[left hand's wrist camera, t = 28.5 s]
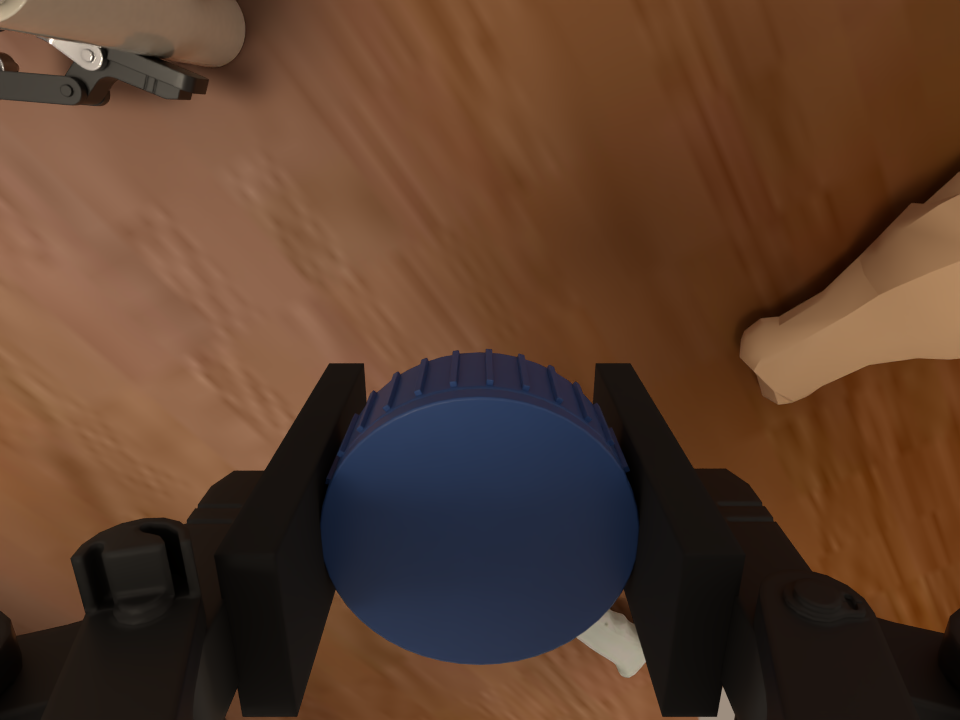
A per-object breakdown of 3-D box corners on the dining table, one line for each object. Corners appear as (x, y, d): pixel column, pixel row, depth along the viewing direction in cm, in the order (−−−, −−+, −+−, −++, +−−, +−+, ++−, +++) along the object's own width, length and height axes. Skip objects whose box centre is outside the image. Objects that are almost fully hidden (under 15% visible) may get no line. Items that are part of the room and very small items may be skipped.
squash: (1079, 247, 39) (1222, 321, 31) (762, 399, 45) (818, 491, 38) (1046, 91, 34) (1206, 134, 26) (697, 286, 40) (746, 365, 33)
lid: (679, 455, 12) (715, 518, 10) (502, 631, 13) (506, 713, 12) (451, 287, 11) (445, 322, 9) (286, 500, 12) (252, 568, 10)
